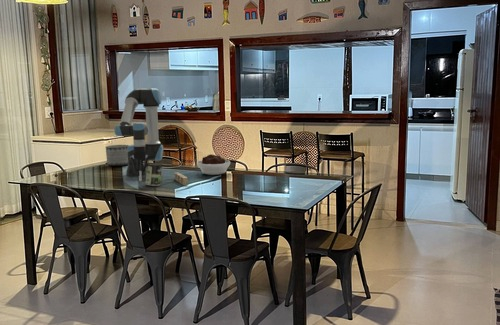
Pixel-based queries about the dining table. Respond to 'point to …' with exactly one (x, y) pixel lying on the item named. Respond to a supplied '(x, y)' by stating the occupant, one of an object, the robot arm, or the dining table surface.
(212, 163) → the bowl of brown food
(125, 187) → the dining table surface
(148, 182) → the coffee can
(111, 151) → the planter
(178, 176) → the board
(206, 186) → the dining table surface
